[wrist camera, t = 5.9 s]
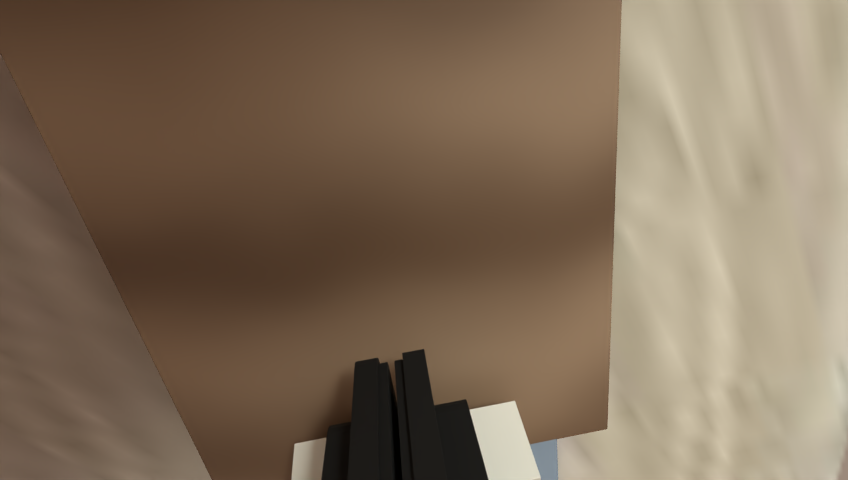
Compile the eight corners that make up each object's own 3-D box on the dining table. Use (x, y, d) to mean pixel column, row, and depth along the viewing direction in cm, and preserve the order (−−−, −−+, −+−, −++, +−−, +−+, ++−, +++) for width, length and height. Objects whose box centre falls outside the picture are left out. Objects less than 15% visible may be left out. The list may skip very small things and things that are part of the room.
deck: (-9, -125, 9) (-113, -175, 7) (578, -205, 9) (631, -272, 7) (243, 450, 15) (224, 505, 13) (579, 384, 15) (607, 429, 14)
